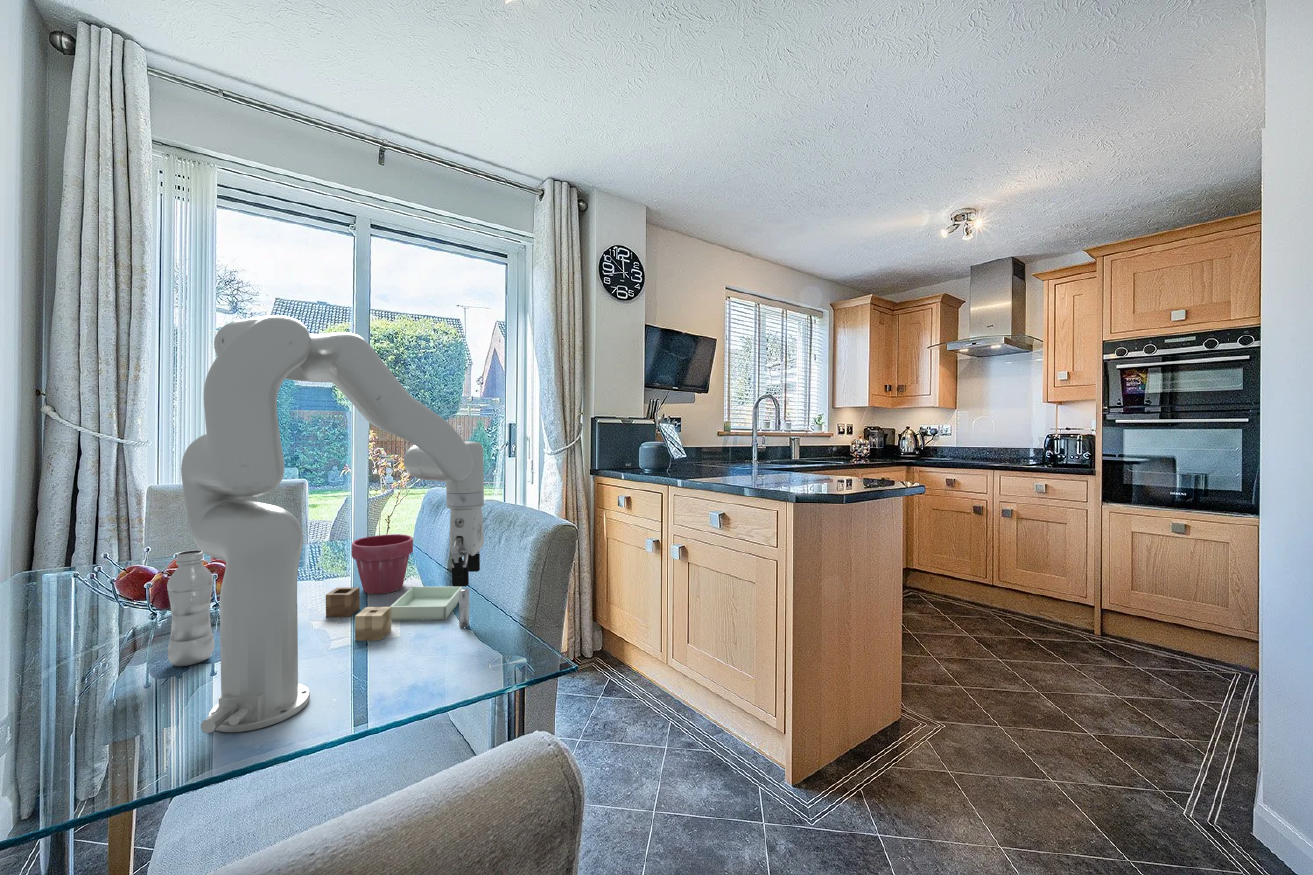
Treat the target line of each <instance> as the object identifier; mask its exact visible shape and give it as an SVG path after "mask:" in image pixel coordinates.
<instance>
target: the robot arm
mask: <svg viewBox="0 0 1313 875" xmlns="http://www.w3.org/2000/svg"><path fill="white" fill-rule="evenodd" d="M213 347H214V351H215V354H216V356H217V357H216V358H215V360H214V361H213V363H211V364H212V365H211V366H210V368H209V369H208V372H207V374H206V378H205V380H204V381H205V382H204V386H203V408H204V420H205V430H206V433H205V434H202V435H200V436H199V437H197V438H196V439H195V440H193V441H192V442H191V443H190V444H189V446H188V447H187V448H186V450H185V452H184V454H183V456H182V460H181V467H180V472H181V473H180V474H181V482H182V489H183V494H184V501H185V507H186V512H187V513H186V514H187V518H188V519H187V520H188V524H189V530H190V533H191V536H192V539H193V542H194V544H195V545H196V546H197V548H198V550H201V551H202V552H203V554H206V555H207V556H209V557H211V558H214V559H216V560H220V561H223V562H225V568H224V574H223V579H222V583H221V587H220V593H219V624H220V625H219V627H220V628H219V632H220V633H219V634H220V636H219V637H220V684H221V685H220V692H221V693H220V695H221V696H219V697H218V703H216V704H215V705H214V706H213V707H212V708H211V709H210V710H209V712H208V714H207V718H205V719H204V720H202V722H201V723H200V730H201V731H202V732H204V733H207V734H210V733H212V732H214V731H217V732H222V733H241V732H250V731H255V730H260V729H262V728H266V727H270V726H272V725H275V724H278V723H280V722H283V721H285V720H287V719H289V718H290V717H293V716H295V715H296V714H297V713H299V712H301V711H302V710H303V709H305V707H306V706H307V705H308V704H309V702H310V698H311V692H310V688H309V687H307V686H306V685H303V684H302V683H299V652H298V651H299V647H298V646H299V641H298V640H299V637H298V636H299V635H298V634H299V633H298V627H299V626H298V574H299V566H300V560H301V556H302V552H303V551H302V550H303V543H304V532H303V528H302V525H301V523H300V522H299V520H298V518H297V517H296V516H295V515H294V514H292V512H290V511H289V510H287V509H285V508H283V507H281V506H277V505H273V504H269V503H265V502H260V500H259V497H260V496H263V495H266V494H269V493H271V492H273V491H274V490H275V489H276V488H278V487H279V485H280V484H281V482H282V480H283V479H284V474H285V461H284V460H285V459H284V453H283V447H282V440H281V431H280V425H279V418H278V395H279V391H280V388H281V386H282V384H283V383H284V381H285V380H290V381H297V382H298V381H299V382H300V381H301V382H309V383H332V384H334V385H335V386H336V388H338V390H339V391H340V392H341V393H342V394H343V395H344V396H345V397H346V398H347V399H348V401H349V402H350V403H351V404H352V405H353V406H354V407H355V408H356V410H357V411H358V412H359V413H360V414H361V415H362V416H363V417H364V419H365V420H366V421H367V422H368V423H369V424H370V425H372V426H374V427H375V428H378V429H379V430H381V431H383V432H385V433H388V434H391V435H393V436H396V437H398V438H400V439H403V440H405V441H407V442H409V443H411V444H412V445H413V446H411V447H410V448H408V449H407V451H406V453H405V454H404V457H403V466H404V468H405V470H406V472H407V473H408V474H409V475H410V476H412V477H413V478H416V479H420V480H424V481H425V480H426V481H431V482H432V481H437V482H444V483H445V487H446V488H445V489H446V490H445V491H446V493H445V494H446V509H449V510H450V515H449V516H450V518H449V520H450V521H449V522H450V523H449V549H450V552H449V553H450V554H451V586H453V587H468V586H469V585H470V584H469V583H470V582H469V581H470V580H469V579H470V578H469V577H470V576H469V574H470V573H472V572H474V573H477V572H479V571H480V570H481V566H480V565H481V560H480V559H481V556H480V554H481V553H480V550H481V549H482V548H483V546H484V544H485V539H484V537H485V536H484V523H483V522H484V520H483V511H482V507H484V505H485V489H484V488H485V487H484V480H485V479H484V476H485V475H484V447H483V444H481V442H478V441H473V440H472V441H471V440H469V441H467V440H465V441H464V440H463V438H462V437H461V436H460V435H459V433H458V432H457V430H455V428H454V427H453V426H452V425H451V424H450V423H449V422H447V421H446V420H445V419H444V418H443V417H442V416H440V415H439V414H438V413H436V412H434V411H433V410H432V409H430V408H429V407H427V406H426V405H425V404H424V403H422V402H420V401H419V400H418V399H416V398H414V397H413V396H411V394H410V393H409V392H408V391H407V390H406V389H405V387H404V386H403V385H402V383H400V381H399V380H398V378H397V377H396V376H395V375H394V374H393V372H392V371H391V370H390V369H389V367H388V366H387V365H386V363H385V362H384V361H383V360H382V359H381V357H380V355H378V354H377V351H375V349H373V347H372V346H371V345H370V344H369V342H368V341H366V340H365V339H364V338H363V337H362V336H361V335H359V334H356V333H351V332H342V331H341V332H330V333H329V332H327V333H317V334H316V333H310V332H309V330H308V328H307V327H306V325H305V324H303V323H302V322H301V321H300V320H298V319H297V318H293V317H290V316H286V315H282V314H281V315H278V314H277V315H273V314H272V315H270V314H269V315H264V316H257V317H255V316H254V317H251V318H243V319H237V320H233V321H230V322H228V323H226V324H225V325H224V326H222V327H221V328H220V329H219V330H218V331H217V332H216V334H215V337H214V341H213ZM469 572H470V573H469Z"/></svg>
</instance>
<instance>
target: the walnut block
mask: <svg viewBox="0 0 1313 875" xmlns="http://www.w3.org/2000/svg"><path fill="white" fill-rule="evenodd" d="M360 599H361V598H360V587H336V588H334V589H332V590H330V592H328V593H326V594H325V618H350V617H351V616H352V615H354V614H355V613H356V612H358V611H359V610H360V601H361V600H360Z"/></svg>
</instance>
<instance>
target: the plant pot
mask: <svg viewBox="0 0 1313 875" xmlns="http://www.w3.org/2000/svg"><path fill="white" fill-rule="evenodd" d="M413 552H414V539H413V537H412V535H408V534H400V533H399V534H396V533H394V534H379V535H371V536H365V537H361V538H358V539H355V540H353V541H352V542H351V558H352V559H353V560H355V562H356V563H355V564H356V567H357V571H358V576H359V579H360V582H361V587H362V592H364V593H366V594H371V595H381V594H382V595H383V594H389V593H393V592H396V591H400V590H401V589H402V588H404V586H403V585H404V582H405V579H406V578H405V577H406V572H407V568H408V564H409V558H410V555H411V554H412V553H413Z"/></svg>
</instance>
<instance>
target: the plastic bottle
mask: <svg viewBox="0 0 1313 875" xmlns="http://www.w3.org/2000/svg"><path fill="white" fill-rule="evenodd" d="M203 562H205V558H204V552H202V551H201V550H200V549H192V550H191V549H190V550H185V551H181V552H177V553H176V562H175V564H176V566H178V567H177V568H176V569H175V570H174V572H173V573H172V575H170V577H169V579H168V581H167V583H166V587H167V588H166V590H167V596H168V600H169V604H170V613H171V626H170V627H171V628H170V640H169V642H168V646H167V647H168V648H167V653H166V654H167V659H168V661H169V662H170V664H171V665H173V666H175V667H186V666H191V665H196V664H199V663H201V662H204V661H206V660H207V659H209V658H210V657H211V655H212V654H213V653H214V649H215V640H214V634H213V631H212V624H211V616H210V615H211V614H210V613H211V609H210V608H211V598H212V592H213V586H214V576H213V574H212V572H211V571H210V570H209V569H208V568H207V567H206V566H205V565H204V564H203Z"/></svg>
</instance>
